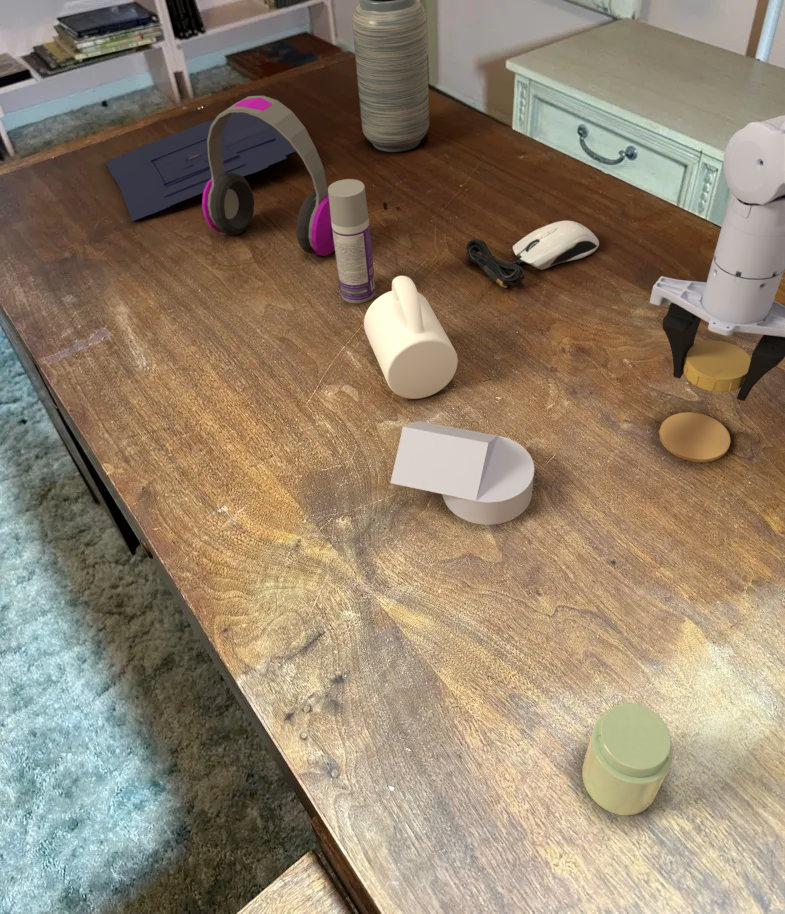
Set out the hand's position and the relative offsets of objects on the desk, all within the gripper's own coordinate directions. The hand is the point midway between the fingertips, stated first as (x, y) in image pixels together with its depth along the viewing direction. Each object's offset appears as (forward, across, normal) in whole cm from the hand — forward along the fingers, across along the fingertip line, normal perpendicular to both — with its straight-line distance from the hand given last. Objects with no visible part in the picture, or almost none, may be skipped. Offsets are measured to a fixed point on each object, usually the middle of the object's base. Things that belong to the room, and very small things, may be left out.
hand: (711, 382), depth 74 cm
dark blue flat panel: (+8, -92, +19) cm, 95 cm away
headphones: (+8, -66, +8) cm, 66 cm away
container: (+8, -47, +3) cm, 48 cm away
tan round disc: (+8, 0, 0) cm, 8 cm away
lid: (-3, 0, 0) cm, 3 cm away
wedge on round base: (+8, -16, -18) cm, 26 cm away
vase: (+8, -69, +43) cm, 82 cm away
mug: (+8, -32, -6) cm, 33 cm away
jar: (+8, +8, -37) cm, 39 cm away
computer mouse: (+8, -30, +22) cm, 39 cm away
